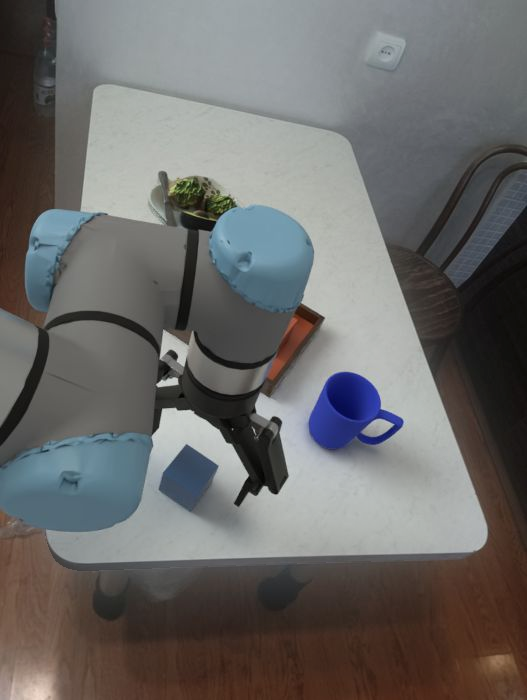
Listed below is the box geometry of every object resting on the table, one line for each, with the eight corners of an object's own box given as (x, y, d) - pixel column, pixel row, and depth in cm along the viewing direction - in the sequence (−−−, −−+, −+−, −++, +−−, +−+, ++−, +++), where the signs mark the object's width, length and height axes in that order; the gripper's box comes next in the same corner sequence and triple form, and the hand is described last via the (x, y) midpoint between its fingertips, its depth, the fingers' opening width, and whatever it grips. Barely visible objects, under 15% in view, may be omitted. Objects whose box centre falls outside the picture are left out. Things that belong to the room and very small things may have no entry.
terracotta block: (274, 357, 85) (283, 338, 81) (248, 341, 86) (255, 321, 82) (288, 339, 88) (298, 319, 85) (263, 323, 89) (271, 303, 85)
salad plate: (122, 187, 102) (124, 167, 99) (199, 168, 112) (203, 149, 108) (180, 253, 95) (183, 233, 92) (256, 227, 105) (262, 208, 101)
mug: (371, 476, 78) (402, 444, 70) (295, 442, 78) (317, 407, 70) (381, 431, 83) (411, 396, 75) (309, 399, 83) (332, 362, 75)
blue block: (158, 489, 69) (162, 473, 65) (181, 460, 72) (186, 443, 68) (190, 512, 68) (196, 496, 64) (212, 482, 71) (219, 465, 67)
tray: (157, 324, 84) (159, 312, 82) (219, 266, 96) (222, 254, 93) (269, 397, 81) (274, 386, 79) (319, 328, 93) (325, 317, 90)
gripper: (362, 409, 49) (296, 498, 65) (142, 272, 53) (132, 389, 69) (328, 470, 44) (266, 550, 61) (90, 315, 48) (92, 430, 64)
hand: (195, 464), depth 65 cm, fingers open, 13 cm apart
